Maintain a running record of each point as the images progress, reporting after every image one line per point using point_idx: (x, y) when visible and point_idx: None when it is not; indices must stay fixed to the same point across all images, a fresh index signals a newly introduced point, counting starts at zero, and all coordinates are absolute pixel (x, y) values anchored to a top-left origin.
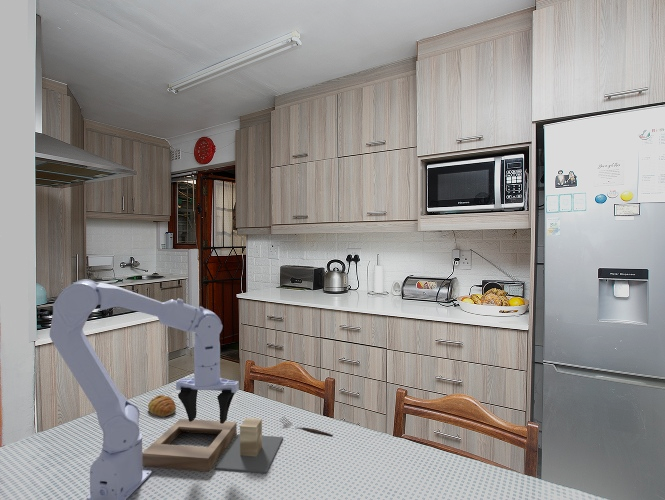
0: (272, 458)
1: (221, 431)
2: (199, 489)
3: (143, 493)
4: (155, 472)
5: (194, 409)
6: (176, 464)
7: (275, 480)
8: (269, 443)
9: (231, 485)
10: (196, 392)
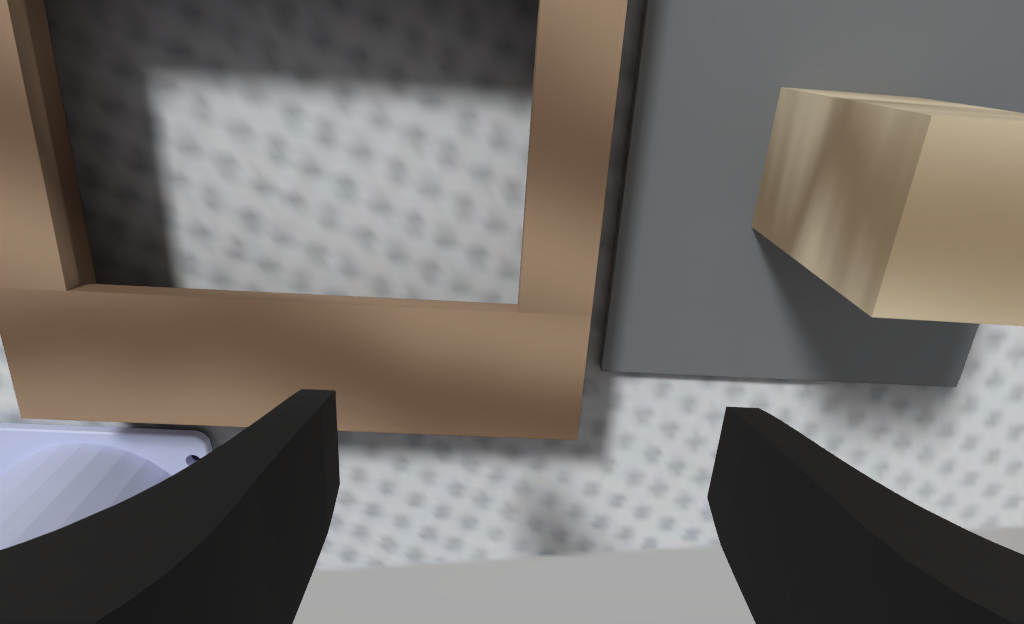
0: None
1: (538, 29)
2: (575, 523)
3: None
4: None
5: (299, 488)
6: None
7: (1003, 433)
8: (987, 36)
9: None
10: (175, 610)
